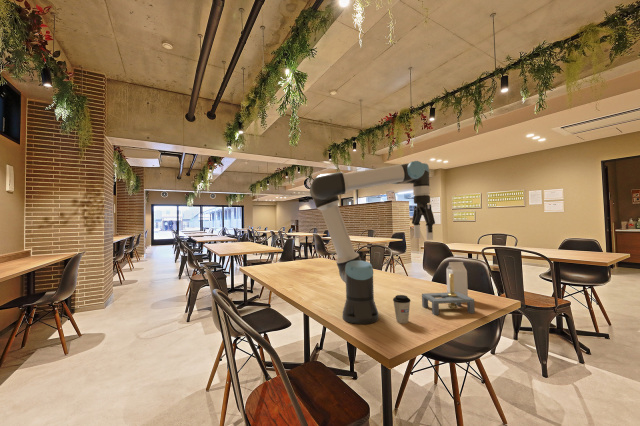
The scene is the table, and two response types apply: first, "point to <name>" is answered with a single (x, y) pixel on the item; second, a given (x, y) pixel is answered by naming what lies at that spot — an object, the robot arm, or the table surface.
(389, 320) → the table surface
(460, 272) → the milk carton
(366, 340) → the table surface
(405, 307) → the coffee cup
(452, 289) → the brass t bolt
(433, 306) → the keyhole plate
